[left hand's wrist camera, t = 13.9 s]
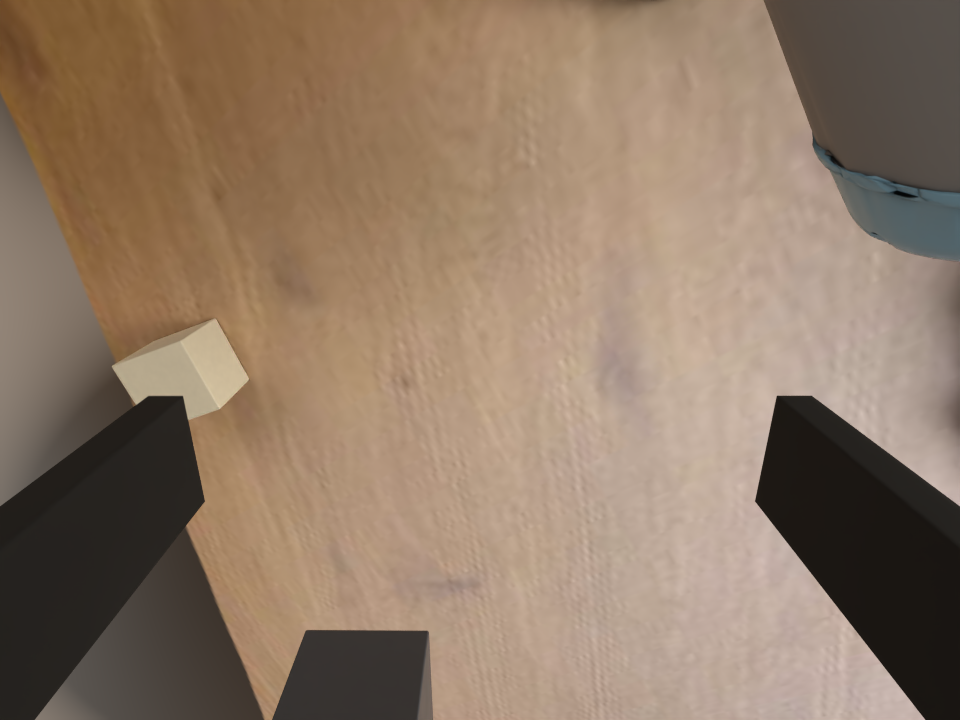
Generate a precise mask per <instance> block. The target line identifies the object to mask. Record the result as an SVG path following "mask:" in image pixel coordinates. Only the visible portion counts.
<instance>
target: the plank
mask: <svg viewBox="0 0 960 720" xmlns="http://www.w3.org/2000/svg"><path fill="white" fill-rule="evenodd" d="M272 720H433V708H432V688H431V667H430V646H429V632H428V631H368V630H306V632H305V634H304V637H303V640H302V642H301V645H300V648H299V650H298V653H297V655H296V658H295V661H294V663H293V666H292V669H291V671H290V674H289V677H288V679H287V682H286V685H285V687H284V690H283V693H282V695H281V698H280V701H279V703H278V706H277V708H276V711H275V714H274V716H273V719H272Z"/></svg>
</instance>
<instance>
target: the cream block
mask: <svg viewBox="0 0 960 720" xmlns="http://www.w3.org/2000/svg"><path fill="white" fill-rule="evenodd" d="M112 368H113V370H114V371H115V373H116V374H117V376H118V378H119V379H120V381H121V382H122V384H123V385H124V387H125V388H126V390H127V392H128V393H129V395H130V396H131V398H132V399H133V401H134V403H135V404H136V405H137V404H138V403H139V402H141V401H142V400H144V399H145V398H146V397H148V396H183V398H184V403H185V408H186V412H187V417H188V420H190V419H193V418H196V417H199V416H202V415H205V414H207V413H210V412H213V411H216V410H219V409H220V408H221V407H222V406H223V405H224V404H225V403H226V402H227V401H228V400H229V399H230V398H231V397H232V396H233V395H234V394H235V393H236V392H237V391H238V390H239V389H240V388H241V387H242V386H243V385H244V384H245V383H246V382H247V381H248V380H249V378H248V376H247V374H246V372H245V371H244V369H243V367H242V365H241V363H240V362H239V360H238V358H237V356H236V354H235V352H234V351H233V349H232V347H231V345H230V343H229V342H228V340H227V338H226V336H225V334H224V333H223V331H222V329H221V327H220V325H219V323H218V322H217V320H216V318H214V319H212V320H209V321H206V322H204V323H201V324H198V325H195V326H193V327H190V328H187V329H185V330H182V331H179V332H177V333H174V334H171V335H169V336H166V337H163V338H160V339H158V340H155V341H153V342H151V343H150V344H148V345H146V346H145V347H143V348H141V349H140V350H138V351H136V352H134V353H133V354H131V355H129V356H128V357H126V358H124V359H123V360H121V361H119V362H118V363H116V364H114V365H113V366H112Z"/></svg>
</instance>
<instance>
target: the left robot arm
mask: <svg viewBox="0 0 960 720" xmlns="http://www.w3.org/2000/svg"><path fill="white" fill-rule="evenodd" d="M764 2H765V5H766V8H767V10H768V13H769V15H770V18H771V21H772V23H773V26H774V29H775V32H776V34H777V37H778V40H779V42H780V45H781V48H782V51H783V53H784V56H785V59H786V61H787V64H788V67H789V70H790V72H791V75H792V78H793V80H794V83H795V86H796V89H797V91H798V94H799V97H800V99H801V102H802V105H803V108H804V110H805V113H806V116H807V118H808V121H809V124H810V127H811V129H812V134H813V148H814V151H815V153H816V155H817V157H818V159H819V160H820V161H821V162H822V163H823V165H824V166H825V167H826V168H828V169H829V170H830V172H831V174H832V176H833V178H834V180H835V183H836V185H837V187H838V189H839V191H840V194H841V196H842V198H843V200H844V202H845V205H846V207H847V209H848V211H849V213H850V215H851V216H852V218H853V219H854V221H855V222H856V223H857V224H858V225H859V226H860V228H862V229H863V230H864V231H865V232H866V233H868V234H869V235H870V236H872V237H874V238H877V239H879V240H882V241H885V242H888V243H889V244H891V245H893V246H894V247H895V248H897V249H899V250H902V251H904V252H908V253H911V254H915V255H920V256H925V257H930V258H935V259H942V260H949V261H959V262H960V0H764ZM204 502H205V500H204V495H203V490H202V485H201V480H200V476H199V471H198V466H197V461H196V456H195V451H194V446H193V442H192V437H191V432H190V427H189V422H188V417H187V412H186V408H185V403H184V398H183V396H148V397H146V398H145V399H144V400H142V401H141V402H139V403H138V404H137V405H135V406H134V407H133V408H132V409H130V410H129V411H127V412H126V413H125V414H123V415H122V416H121V417H119V418H118V419H117V420H115V421H114V422H113V423H111V424H110V425H109V426H107V427H106V428H105V429H103V430H102V431H101V432H99V433H98V434H97V435H95V436H94V437H93V438H91V439H90V440H89V441H87V442H86V443H85V444H83V445H82V446H81V447H79V448H78V449H77V450H75V451H74V452H73V453H71V454H70V455H68V456H67V457H66V458H65V459H63V460H62V461H60V462H59V463H58V464H57V465H55V466H54V467H52V468H51V469H50V470H48V471H47V472H46V473H44V474H43V475H42V476H40V477H39V478H38V479H36V480H35V481H34V482H32V483H31V484H30V485H28V486H27V487H26V488H24V489H23V490H22V491H20V492H19V493H18V494H16V495H15V496H14V497H12V498H11V499H10V500H8V501H7V502H6V503H4V504H3V505H2V506H0V720H35V719H36V717H37V716H38V715H39V713H40V712H41V711H42V710H43V708H44V707H45V706H46V704H47V703H48V702H49V701H50V699H51V698H52V697H53V695H54V694H55V693H56V692H57V690H58V689H59V688H60V686H61V685H62V684H63V683H64V681H65V680H66V679H67V677H68V676H69V675H70V674H71V672H72V671H73V670H74V669H75V667H76V666H77V665H78V663H79V662H80V661H81V659H82V658H83V657H84V656H85V654H86V653H87V652H88V651H89V649H90V648H91V647H92V645H93V644H94V643H95V642H96V640H97V639H98V638H99V636H100V635H101V634H102V633H103V631H104V630H105V629H106V627H107V626H108V625H109V624H110V622H111V621H112V620H113V618H114V617H115V616H116V615H117V613H118V612H119V611H120V609H121V608H122V607H123V606H124V604H125V603H126V602H127V601H128V599H129V598H130V597H131V595H132V594H133V593H134V592H135V590H136V589H137V588H138V586H139V585H140V584H141V583H142V581H143V580H144V579H145V577H146V576H147V575H148V574H149V572H150V571H151V570H152V568H153V567H154V566H155V565H156V563H157V562H158V561H159V559H160V558H161V557H162V556H163V554H164V553H165V552H166V550H167V549H168V548H169V547H170V545H171V544H172V543H173V542H174V540H175V539H176V538H177V536H178V535H179V534H180V533H181V531H182V530H183V529H184V527H185V526H186V525H187V524H188V522H189V521H190V520H191V518H192V517H193V516H194V515H195V513H196V512H197V511H198V509H199V508H200V507H201V506H202V504H203V503H204ZM755 502H756V503H757V504H758V506H759V507H760V508H761V509H762V511H763V512H764V513H765V515H766V516H767V517H768V518H769V520H770V521H771V522H772V524H773V525H774V526H775V527H776V529H777V530H778V531H779V533H780V534H781V535H782V536H783V538H784V539H785V540H786V542H787V543H788V544H789V545H790V547H791V548H792V549H793V550H794V552H795V553H796V554H797V556H798V557H799V558H800V559H801V561H802V562H803V563H804V565H805V566H806V567H807V568H808V570H809V571H810V572H811V574H812V575H813V576H814V577H815V579H816V580H817V581H818V583H819V584H820V585H821V586H822V588H823V589H824V590H825V592H826V593H827V594H828V595H829V597H830V598H831V599H832V601H833V602H834V603H835V604H836V606H837V607H838V608H839V610H840V611H841V612H842V613H843V615H844V616H845V617H846V618H847V620H848V621H849V622H850V624H851V625H852V626H853V627H854V629H855V630H856V631H857V633H858V634H859V635H860V636H861V638H862V639H863V640H864V642H865V643H866V644H867V645H868V647H869V648H870V649H871V651H872V652H873V653H874V654H875V656H876V657H877V658H878V660H879V661H880V662H881V663H882V665H883V666H884V667H885V669H886V670H887V671H888V672H889V674H890V675H891V676H892V677H893V679H894V680H895V681H896V683H897V684H898V685H899V686H900V688H901V689H902V690H903V692H904V693H905V694H906V695H907V697H908V698H909V699H910V701H911V702H912V703H913V704H914V706H915V707H916V708H917V710H918V711H919V712H920V713H921V715H922V716H923V717H924V719H925V720H960V506H958V505H957V504H956V503H954V502H953V501H952V500H950V499H949V498H948V497H946V496H945V495H944V494H942V493H941V492H940V491H938V490H937V489H936V488H934V487H933V486H932V485H930V484H929V483H928V482H926V481H925V480H924V479H922V478H921V477H920V476H918V475H917V474H916V473H914V472H913V471H912V470H910V469H909V468H908V467H906V466H905V465H904V464H902V463H901V462H900V461H898V460H897V459H896V458H894V457H893V456H892V455H890V454H889V453H887V452H886V451H885V450H883V449H882V448H881V447H879V446H878V445H877V444H875V443H874V442H873V441H871V440H870V439H869V438H867V437H866V436H865V435H863V434H862V433H861V432H859V431H858V430H857V429H855V428H854V427H853V426H851V425H850V424H849V423H847V422H846V421H845V420H843V419H842V418H841V417H839V416H838V415H837V414H835V413H834V412H833V411H831V410H830V409H829V408H827V407H826V406H825V405H823V404H822V403H821V402H819V401H818V400H816V399H815V398H814V397H812V396H777V398H776V403H775V408H774V412H773V417H772V422H771V427H770V432H769V437H768V442H767V446H766V451H765V456H764V461H763V466H762V471H761V476H760V480H759V485H758V490H757V495H756V500H755Z"/></svg>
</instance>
